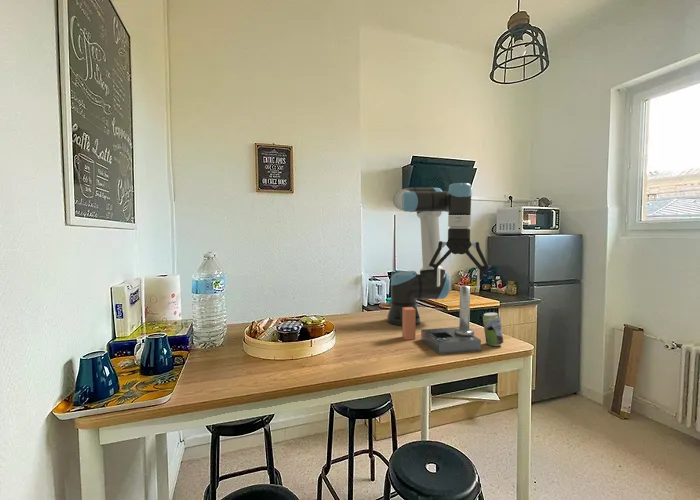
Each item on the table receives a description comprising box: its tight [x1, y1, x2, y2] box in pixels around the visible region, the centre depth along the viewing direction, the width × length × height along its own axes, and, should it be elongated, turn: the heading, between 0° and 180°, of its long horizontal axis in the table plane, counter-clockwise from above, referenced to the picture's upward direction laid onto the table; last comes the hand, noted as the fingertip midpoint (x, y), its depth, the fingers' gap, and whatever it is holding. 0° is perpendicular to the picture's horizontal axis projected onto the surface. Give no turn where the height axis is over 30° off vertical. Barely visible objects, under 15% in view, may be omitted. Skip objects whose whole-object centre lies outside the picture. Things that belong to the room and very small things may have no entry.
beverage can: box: [482, 311, 504, 347], centre depth 131 cm, size 6×7×12 cm
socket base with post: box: [420, 285, 482, 355], centre depth 130 cm, size 16×18×22 cm
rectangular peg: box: [401, 307, 416, 341], centre depth 139 cm, size 4×4×12 cm
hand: (457, 287), depth 124 cm, fingers open, 13 cm apart
